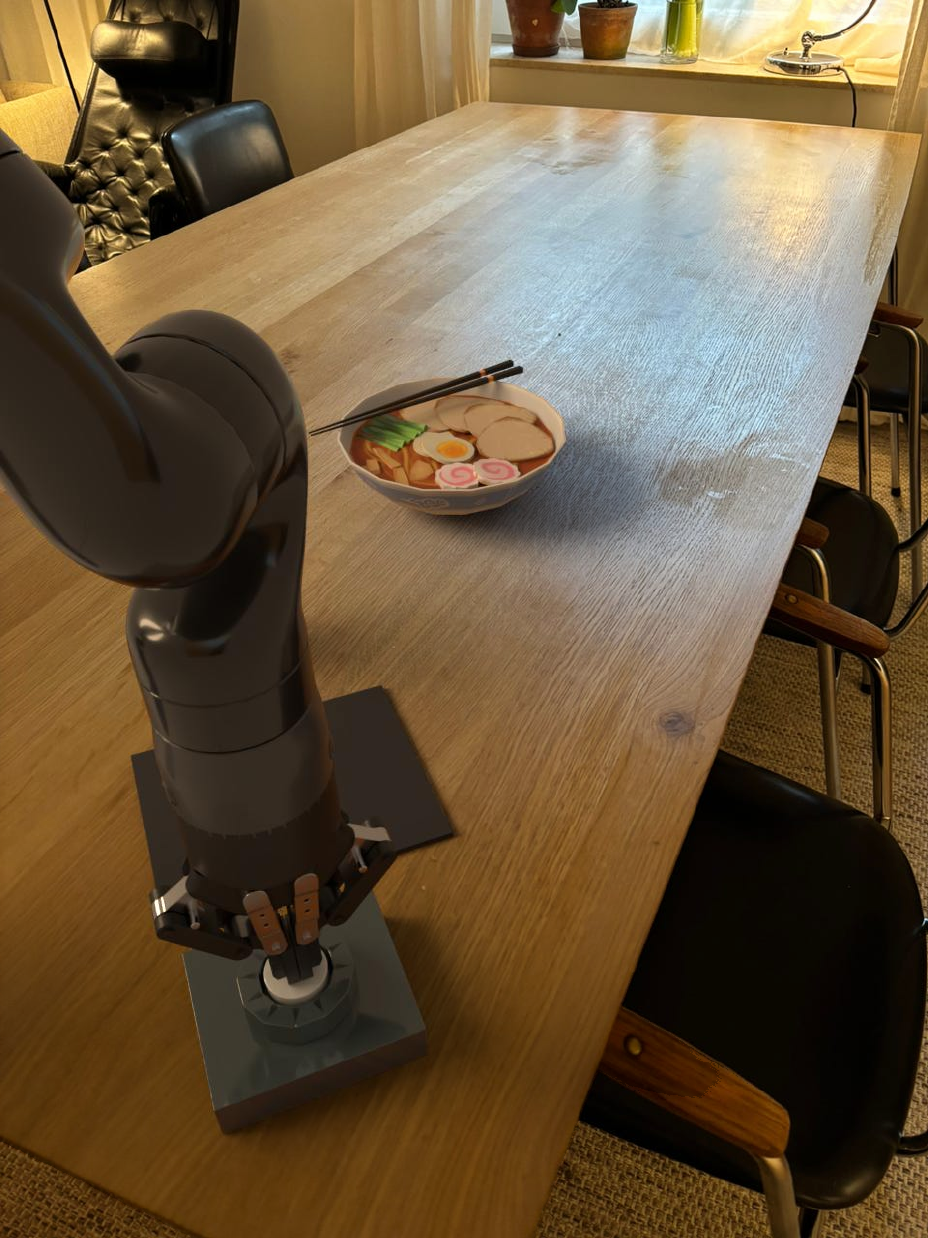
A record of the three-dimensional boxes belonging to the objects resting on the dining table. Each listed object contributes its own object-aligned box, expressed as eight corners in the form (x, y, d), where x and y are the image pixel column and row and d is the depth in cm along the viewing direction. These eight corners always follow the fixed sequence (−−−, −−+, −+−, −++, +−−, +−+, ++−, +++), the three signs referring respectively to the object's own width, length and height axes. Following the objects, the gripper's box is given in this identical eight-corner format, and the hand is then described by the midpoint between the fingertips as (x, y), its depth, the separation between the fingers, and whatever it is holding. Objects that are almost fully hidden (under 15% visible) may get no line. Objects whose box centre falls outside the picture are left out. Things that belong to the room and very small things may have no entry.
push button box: (223, 1135, 54) (206, 1094, 51) (191, 979, 61) (174, 934, 58) (428, 1054, 58) (425, 1011, 54) (375, 915, 65) (370, 869, 61)
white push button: (276, 1026, 56) (271, 1008, 54) (262, 972, 58) (257, 953, 57) (338, 1003, 57) (334, 985, 55) (321, 951, 59) (317, 932, 58)
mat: (164, 931, 64) (163, 928, 64) (131, 758, 75) (130, 755, 75) (453, 835, 69) (453, 832, 69) (381, 688, 81) (381, 684, 81)
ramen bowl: (402, 589, 91) (397, 515, 85) (296, 476, 105) (287, 407, 100) (616, 506, 101) (624, 435, 95) (492, 413, 115) (493, 347, 110)
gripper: (363, 672, 49) (386, 878, 61) (90, 748, 46) (168, 952, 57) (414, 779, 44) (429, 983, 55) (109, 875, 40) (191, 1073, 52)
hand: (296, 967), depth 56 cm, fingers closed
